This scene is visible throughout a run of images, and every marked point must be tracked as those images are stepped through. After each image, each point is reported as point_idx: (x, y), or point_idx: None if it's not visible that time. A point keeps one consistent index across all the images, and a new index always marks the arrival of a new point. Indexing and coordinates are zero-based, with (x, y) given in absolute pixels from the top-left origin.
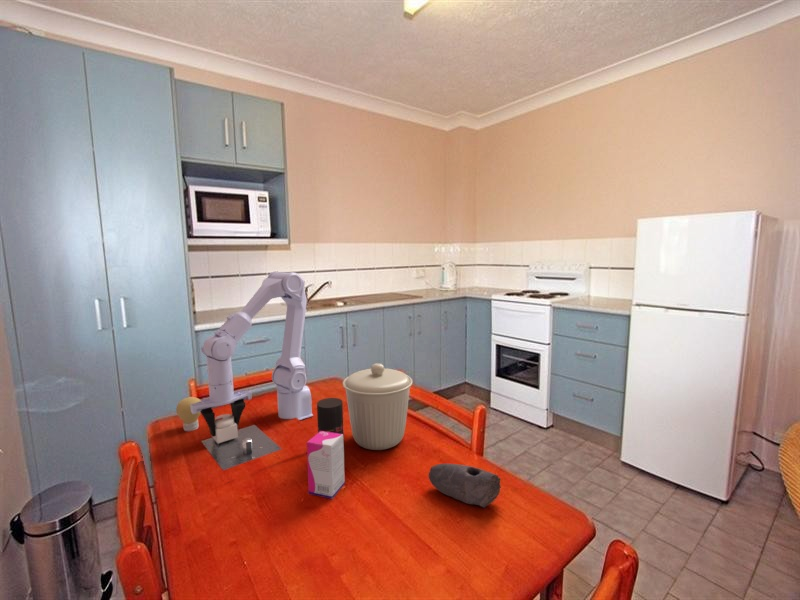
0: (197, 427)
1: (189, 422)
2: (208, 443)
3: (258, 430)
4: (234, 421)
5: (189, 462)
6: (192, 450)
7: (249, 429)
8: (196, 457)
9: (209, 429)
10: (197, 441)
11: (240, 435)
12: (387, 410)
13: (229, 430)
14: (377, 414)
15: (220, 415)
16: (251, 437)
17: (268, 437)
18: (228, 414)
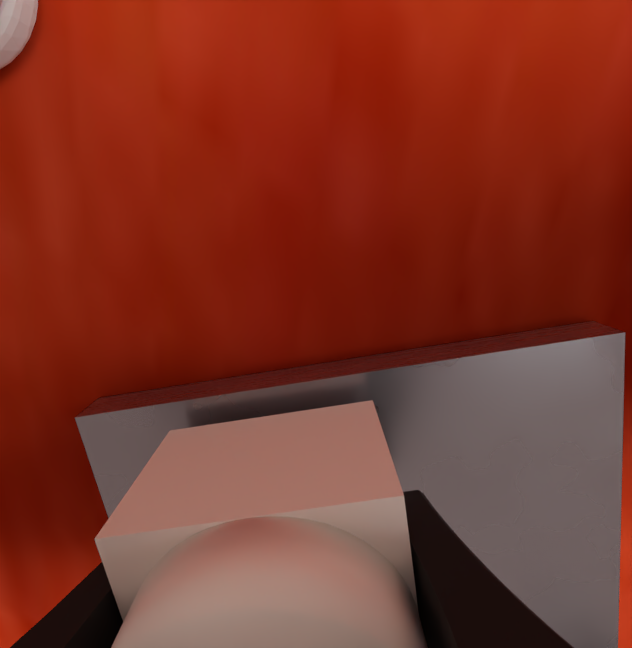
0: (3, 5)
1: None
2: None
3: (601, 485)
4: (424, 634)
5: (31, 607)
6: (32, 446)
7: (539, 416)
8: (73, 566)
9: (96, 569)
10: (60, 294)
11: (427, 494)
12: None
13: None
14: None
15: (221, 617)
16: (499, 579)
17: (614, 645)
18: (377, 646)
